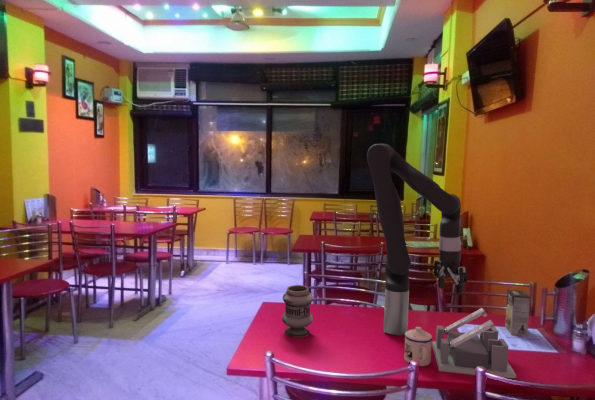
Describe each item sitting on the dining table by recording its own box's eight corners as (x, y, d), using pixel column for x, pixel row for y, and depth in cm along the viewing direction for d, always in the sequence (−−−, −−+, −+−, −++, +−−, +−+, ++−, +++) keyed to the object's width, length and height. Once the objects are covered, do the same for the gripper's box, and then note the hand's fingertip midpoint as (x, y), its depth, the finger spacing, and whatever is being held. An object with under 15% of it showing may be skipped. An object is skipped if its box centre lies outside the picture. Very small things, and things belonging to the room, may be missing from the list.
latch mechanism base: (438, 370, 136) (440, 341, 135) (432, 345, 156) (433, 319, 155) (515, 379, 131) (517, 348, 131) (498, 351, 151) (500, 324, 150)
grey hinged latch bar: (447, 337, 149) (443, 331, 149) (445, 333, 152) (442, 328, 152) (487, 315, 145) (483, 310, 146) (485, 312, 149) (481, 307, 149)
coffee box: (504, 326, 176) (506, 288, 174) (520, 328, 174) (523, 290, 173) (510, 335, 167) (513, 295, 165) (528, 336, 165) (530, 296, 164)
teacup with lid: (400, 354, 147) (401, 322, 146) (426, 354, 148) (427, 322, 147) (410, 371, 135) (412, 336, 135) (438, 371, 136) (440, 336, 135)
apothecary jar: (276, 335, 162) (277, 289, 161) (289, 324, 173) (289, 282, 172) (306, 340, 157) (307, 294, 156) (316, 329, 169) (317, 285, 167)
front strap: (452, 351, 137) (448, 345, 137) (451, 347, 140) (447, 341, 140) (496, 328, 134) (492, 322, 134) (493, 324, 137) (490, 319, 137)
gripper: (428, 246, 160) (428, 287, 162) (456, 253, 147) (457, 298, 149) (443, 244, 163) (443, 284, 165) (472, 250, 150) (472, 294, 152)
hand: (450, 291), depth 157 cm, fingers open, 8 cm apart
